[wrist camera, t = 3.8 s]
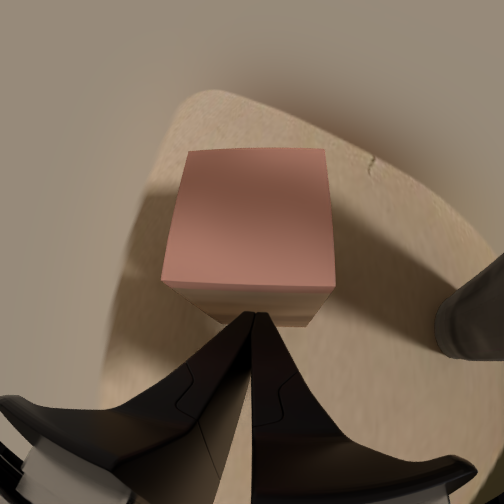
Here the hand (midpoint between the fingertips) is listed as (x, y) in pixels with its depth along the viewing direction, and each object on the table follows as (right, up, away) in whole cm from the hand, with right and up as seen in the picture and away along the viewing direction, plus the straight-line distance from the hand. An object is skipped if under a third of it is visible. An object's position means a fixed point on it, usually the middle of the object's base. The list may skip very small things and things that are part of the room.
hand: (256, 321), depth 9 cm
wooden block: (+1, 0, +7) cm, 8 cm away
